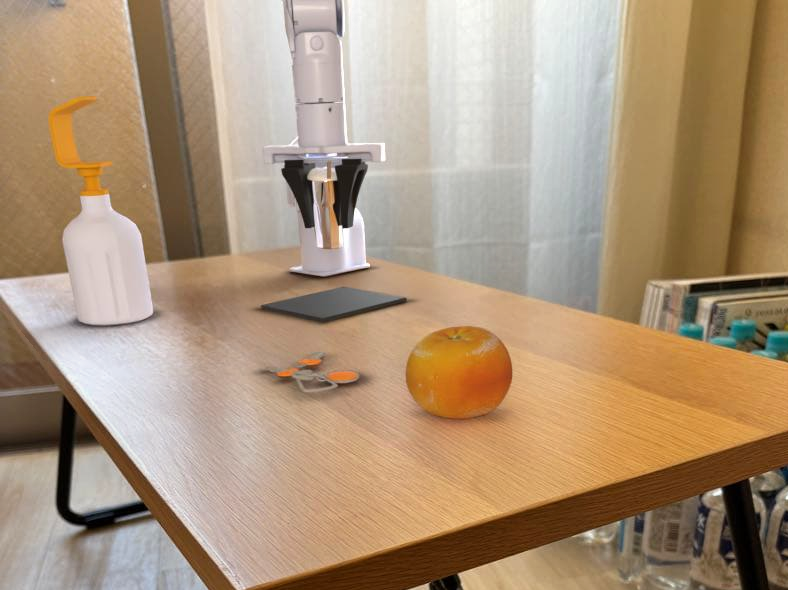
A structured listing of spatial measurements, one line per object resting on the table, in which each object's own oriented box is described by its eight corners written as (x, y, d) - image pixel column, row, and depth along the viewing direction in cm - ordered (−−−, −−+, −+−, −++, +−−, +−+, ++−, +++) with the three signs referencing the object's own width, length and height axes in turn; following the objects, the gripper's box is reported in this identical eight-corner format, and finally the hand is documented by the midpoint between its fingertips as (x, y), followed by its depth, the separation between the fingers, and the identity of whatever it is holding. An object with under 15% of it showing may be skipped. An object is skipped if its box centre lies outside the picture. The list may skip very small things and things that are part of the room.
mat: (344, 290, 121) (343, 286, 121) (406, 301, 113) (406, 297, 113) (260, 309, 112) (260, 304, 112) (322, 322, 105) (322, 318, 104)
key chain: (372, 386, 81) (371, 377, 81) (294, 398, 79) (294, 389, 78) (326, 353, 92) (325, 345, 91) (256, 364, 89) (256, 355, 89)
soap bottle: (133, 327, 106) (93, 96, 95) (64, 326, 108) (17, 99, 97) (166, 310, 114) (133, 94, 103) (100, 309, 116) (61, 97, 104)
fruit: (371, 370, 74) (424, 290, 70) (438, 384, 80) (491, 311, 76) (424, 439, 70) (483, 358, 66) (490, 448, 76) (548, 374, 72)
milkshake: (314, 252, 107) (309, 161, 102) (309, 244, 112) (304, 158, 107) (351, 250, 108) (348, 160, 103) (345, 243, 112) (341, 157, 108)
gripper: (247, 106, 101) (260, 231, 107) (369, 101, 97) (375, 232, 103) (272, 104, 107) (283, 223, 113) (388, 100, 103) (393, 223, 109)
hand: (328, 227), depth 109 cm, fingers closed on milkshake, 4 cm apart
